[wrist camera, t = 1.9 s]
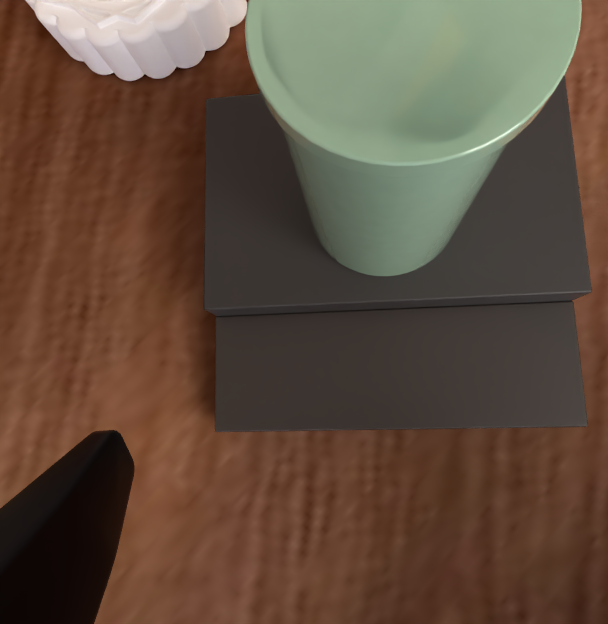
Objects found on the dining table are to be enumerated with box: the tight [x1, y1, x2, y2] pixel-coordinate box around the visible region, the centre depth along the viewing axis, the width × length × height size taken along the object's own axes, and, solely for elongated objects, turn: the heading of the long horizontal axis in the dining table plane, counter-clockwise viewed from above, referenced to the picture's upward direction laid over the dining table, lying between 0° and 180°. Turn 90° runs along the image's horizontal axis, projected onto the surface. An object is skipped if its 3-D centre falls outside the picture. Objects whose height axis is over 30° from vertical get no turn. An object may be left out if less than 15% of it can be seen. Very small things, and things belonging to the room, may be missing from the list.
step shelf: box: [204, 75, 592, 432], centre depth 20 cm, size 14×15×3 cm
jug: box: [245, 0, 582, 276], centre depth 14 cm, size 9×6×10 cm
